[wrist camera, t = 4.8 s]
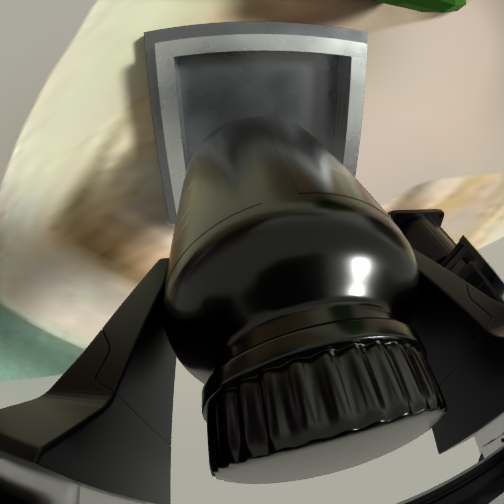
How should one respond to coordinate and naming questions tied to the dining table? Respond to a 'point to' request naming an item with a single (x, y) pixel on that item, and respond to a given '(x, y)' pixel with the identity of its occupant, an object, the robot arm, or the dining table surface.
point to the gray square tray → (253, 86)
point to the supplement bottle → (294, 309)
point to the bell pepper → (428, 5)
